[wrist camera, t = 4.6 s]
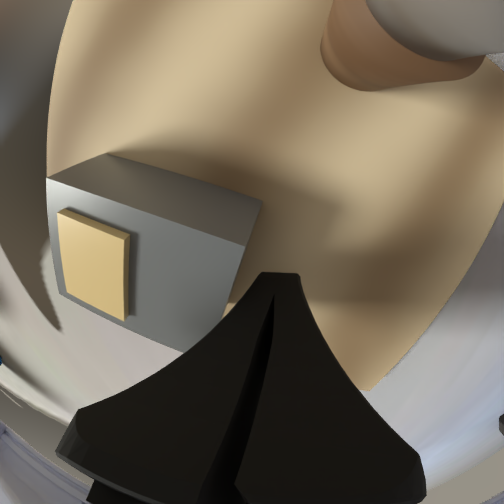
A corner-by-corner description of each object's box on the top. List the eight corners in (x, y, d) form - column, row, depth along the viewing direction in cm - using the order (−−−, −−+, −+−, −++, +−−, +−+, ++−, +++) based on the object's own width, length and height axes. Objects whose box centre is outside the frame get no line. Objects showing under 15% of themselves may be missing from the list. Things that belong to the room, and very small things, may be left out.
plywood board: (518, 99, 5) (538, 102, 4) (367, 377, 14) (369, 395, 12) (95, -18, 5) (77, -24, 4) (71, 280, 14) (58, 293, 13)
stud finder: (262, 200, 9) (242, 253, 6) (228, 303, 11) (204, 368, 8) (104, 153, 9) (39, 181, 6) (100, 253, 11) (54, 298, 8)
